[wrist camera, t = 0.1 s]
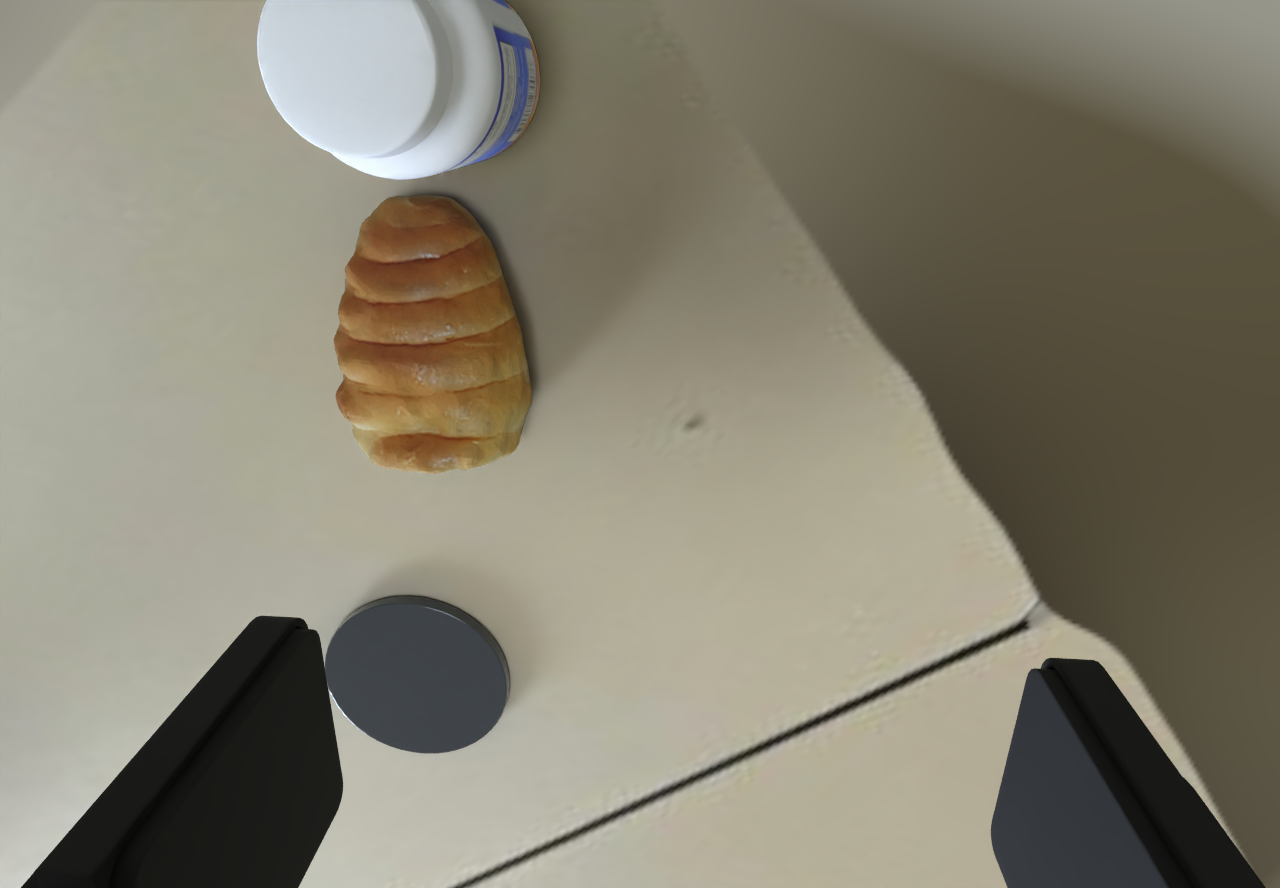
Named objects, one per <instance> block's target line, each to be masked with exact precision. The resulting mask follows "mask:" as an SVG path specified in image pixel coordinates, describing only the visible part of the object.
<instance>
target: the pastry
mask: <svg viewBox="0 0 1280 888" xmlns="http://www.w3.org/2000/svg"><path fill="white" fill-rule="evenodd" d="M345 273H346V280H345V292H344V294H343V295H342V298H341V301H340V305H339V311H338V314H339V319H340V325H339V327H338V330H337V332H336V335H335V337H334V345H335V351H336V354H337V357H338V364H339V367H340V369H341V371H342V372H343V378H344V380H343V382H342V383H341V385H340V387H339V388H338V390H337V392H336V400H337V403H338V407H339V409H340V411H341V413H342V414H343V416H344V417H345V418H346V419H347V420H348V421H350V422H351V423H352V425H353V435H354V437H355V439H356V440H357V442H358V443H359V444H360V446H361V448H362V450H363V451H364V452H365V453H366V454H367V455H368V456H369V458H370V460H371V461H372V462H374V463H375V464H377V465H379V466H381V467H384V468H388V469H396V470H400V471H408V472H419V473H429V474H435V473H442V472H445V471H449V470H454V469H458V470H467V469H471V468H475V467H479V466H483V465H486V464H489V463H492V462H494V461H496V460H498V459H500V458H502V457H505V456H507V455H509V454H511V453H512V452H513V451H514V450H515V449H516V447H517V446H518V444H519V441H520V436H521V432H522V428H523V424H524V420H525V417H526V415H527V412H528V410H529V408H530V404H531V401H532V389H531V384H530V379H529V371H528V363H527V359H526V356H525V351H524V345H523V338H522V333H521V329H520V325H519V322H518V319H517V316H516V313H515V310H514V307H513V304H512V301H511V297H510V295H509V292H508V289H507V286H506V283H505V281H504V277H503V274H502V271H501V268H500V264H499V261H498V258H497V255H496V253H495V250H494V248H493V246H492V243H491V241H490V240H489V238H488V237H487V235H486V234H485V233H484V231H483V230H482V229H481V227H480V226H479V224H478V223H477V221H476V220H475V218H474V217H473V216H472V215H471V213H470V212H468V211H467V210H466V209H465V208H464V207H463V206H462V205H460V204H459V203H457V202H456V201H454V200H453V199H451V198H449V197H444V196H435V195H420V196H409V197H402V196H396V197H391V198H388V199H386V200H385V201H384V202H382V203H381V204H380V205H379V207H378V208H377V209H376V210H374V211H373V213H372V214H371V216H369V217H368V218H367V219H365V221H364V222H363V223H362V225H361V228H360V233H359V238H358V241H357V244H356V250H355V253H354V255H353V257H352V258H351V259H350V261H349V262H348V264H347V266H346V268H345Z"/></svg>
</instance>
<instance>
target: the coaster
mask: <svg viewBox="0 0 1280 888" xmlns="http://www.w3.org/2000/svg"><path fill="white" fill-rule="evenodd" d="M325 673H326V679H327V684H328V687H329V690H330V692H331V695H332V697H333V699H334V701H335V702H336V704H337V706H338V707H339V708H340V710H341V711H342V713H343V714H344V715H345V716H346V717H347V718H348V719H349V720H350V721H351V722H352V723H353V724H354V725H355V726H356V727H357V728H359V729H360V730H361V731H363V732H364V733H366V734H367V735H368V736H370V737H372V738H374V739H376V740H377V741H379V742H382V743H384V744H386V745H388V746H391V747H394V748H397V749H401V750H405V751H410V752H416V753H444V752H450V751H455V750H458V749H461V748H464V747H467V746H469V745H471V744H473V743H475V742H476V741H478V740H479V739H481V738H482V737H484V736H485V735H486V734H487V733H488V732H489V731H491V730H492V728H493V727H494V726H495V725H496V723H497V722H498V720H499V719H500V717H501V715H502V713H503V710H504V707H505V705H506V701H507V698H508V693H509V682H510V679H509V671H508V667H507V663H506V660H505V657H504V655H503V653H502V651H501V649H500V647H499V646H498V644H497V642H496V641H495V639H494V638H493V637H492V636H491V635H490V633H489V632H488V631H487V630H486V629H485V628H484V627H483V626H482V625H481V624H480V623H478V622H477V621H476V620H475V619H473V618H472V617H471V616H469V615H468V614H466V613H464V612H463V611H461V610H459V609H457V608H455V607H453V606H451V605H448V604H446V603H443V602H440V601H437V600H433V599H428V598H424V597H414V596H397V597H389V598H384V599H380V600H377V601H374V602H372V603H369V604H366V605H365V606H363V607H361V608H359V609H358V610H356V611H355V612H353V613H352V614H351V615H350V616H348V617H347V619H346V620H345V621H344V622H343V623H342V624H341V625H340V627H339V628H338V630H337V631H336V633H335V634H334V636H333V637H332V639H331V641H330V644H329V646H328V649H327V653H326V659H325Z"/></svg>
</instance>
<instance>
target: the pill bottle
mask: <svg viewBox="0 0 1280 888" xmlns="http://www.w3.org/2000/svg"><path fill="white" fill-rule="evenodd" d="M257 53H258V61H259V68H260V71H261V74H262V79H263V81H264V83H265V87H266V90H267V92H268V94H269V96H270V98H271V100H272V102H273V103H274V105H275V107H276V108H277V110H278V111H279V113H280V114H281V115H282V117H283V118H284V119H285V121H286V122H287V123H288V124H289V125H290V126H291V127H292V128H293V129H294V130H295V131H296V132H297V133H299V134H300V135H301V136H302V137H303V138H305V139H306V140H308V141H309V142H311V143H312V144H314V145H316V146H317V147H319V148H322V149H324V150H326V151H328V152H331V153H332V154H333V155H334V156H335V157H337V158H338V159H339V160H341V161H343V162H344V163H346V164H348V165H349V166H351V167H353V168H355V169H358V170H360V171H362V172H365V173H367V174H370V175H374V176H378V177H383V178H388V179H402V180H403V179H415V178H421V177H427V176H431V175H435V174H439V173H443V172H446V171H450V170H453V169H457V168H460V167H463V166H467V165H470V164H473V163H477V162H480V161H484V160H487V159H489V158H492V157H494V156H496V155H498V154H500V153H501V152H503V151H504V150H506V149H507V148H508V147H510V146H511V145H512V144H513V143H514V142H515V141H516V140H517V139H518V138H519V137H520V136H521V135H522V134H523V132H524V131H525V129H526V128H527V126H528V125H529V123H530V121H531V119H532V117H533V114H534V112H535V109H536V105H537V102H538V97H539V89H540V72H539V63H538V58H537V54H536V51H535V47H534V44H533V41H532V39H531V36H530V34H529V32H528V30H527V28H526V27H525V25H524V23H523V21H522V20H521V18H520V17H519V15H518V14H517V13H516V12H515V11H514V9H513V8H512V7H511V6H510V5H509V4H508V3H507V2H506V1H505V0H266V3H265V5H264V7H263V10H262V14H261V17H260V20H259V26H258V34H257Z"/></svg>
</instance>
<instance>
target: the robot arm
mask: <svg viewBox="0 0 1280 888" xmlns="http://www.w3.org/2000/svg"><path fill="white" fill-rule="evenodd" d="M342 793H343V778H342V772H341V766H340V760H339V753H338V747H337V741H336V735H335V729H334V722H333V716H332V710H331V704H330V698H329V692H328V685H327V679H326V673H325V667H324V661H323V654H322V648H321V642H320V637H319V634H318V633H317V631H316V630H312V629H308V626H307V624H306V622H305V621H304V620H303V619H301V618H293V617H274V616H259V617H256V618H255V619H253V620H252V621H251V622H250V623H249V624H248V626H247V627H246V628H245V629H244V630H243V631H242V633H241V634H240V635H239V636H238V637H237V638H236V639H235V641H234V642H233V643H232V644H231V645H230V646H229V648H228V649H227V650H226V651H225V652H224V653H223V654H222V656H221V657H220V658H219V659H218V660H217V661H216V663H215V664H214V665H213V666H212V667H211V668H210V670H209V671H208V672H207V673H206V674H205V675H204V676H203V678H202V679H201V680H200V681H199V682H198V683H197V685H196V686H195V687H194V688H193V689H192V690H191V691H190V693H189V694H188V695H187V696H186V697H185V698H184V700H183V701H182V702H181V703H180V704H179V705H178V706H177V708H176V709H175V710H174V711H173V712H172V713H171V715H170V716H169V717H168V718H167V719H166V720H165V721H164V723H163V724H162V725H161V726H160V727H159V728H158V730H157V731H156V732H155V733H154V734H153V735H152V736H151V738H150V739H149V740H148V741H147V742H146V743H145V745H144V746H143V747H142V748H141V749H140V750H139V751H138V753H137V754H136V755H135V756H134V757H133V758H132V760H131V761H130V762H129V763H128V764H127V765H126V766H125V768H124V769H123V770H122V771H121V772H120V773H119V775H118V776H117V777H116V778H115V779H114V780H113V781H112V783H111V784H110V785H109V786H108V787H107V788H106V790H105V791H104V792H103V793H102V794H101V795H100V796H99V798H98V799H97V800H96V801H95V802H94V803H93V805H92V806H91V807H90V808H89V809H88V810H87V811H86V813H85V814H84V815H83V816H82V817H81V818H80V820H79V821H78V822H77V823H76V824H75V825H74V826H73V828H72V829H71V830H70V831H69V832H68V833H67V835H66V836H65V837H64V838H63V839H62V840H61V841H60V843H59V844H58V845H57V846H56V847H55V848H54V850H53V851H52V852H51V853H50V854H49V855H48V857H47V858H46V859H45V860H44V861H43V862H42V863H41V865H40V866H39V867H38V868H37V869H36V870H35V872H34V873H33V874H32V875H31V877H30V878H29V879H28V880H27V881H26V882H25V884H24V885H23V886H22V887H21V888H298V887H299V885H300V883H301V881H302V879H303V877H304V875H305V873H306V871H307V869H308V867H309V865H310V864H311V862H312V860H313V858H314V856H315V854H316V852H317V850H318V848H319V846H320V844H321V842H322V840H323V838H324V836H325V834H326V832H327V830H328V828H329V826H330V824H331V822H332V821H333V819H334V817H335V815H336V813H337V810H338V808H339V805H340V802H341V798H342ZM991 839H992V846H993V850H994V853H995V857H996V859H997V862H998V864H999V867H1000V869H1001V872H1002V874H1003V877H1004V879H1005V882H1006V885H1007V887H1008V888H1265V886H1264V885H1263V883H1262V882H1261V881H1260V879H1259V878H1258V876H1257V875H1256V874H1255V872H1254V871H1253V870H1252V868H1251V867H1250V865H1249V864H1248V863H1247V861H1246V860H1245V859H1244V857H1243V856H1242V854H1241V853H1240V852H1239V850H1238V849H1237V847H1236V846H1235V845H1234V843H1233V842H1232V841H1231V839H1230V838H1229V836H1228V835H1227V834H1226V832H1225V831H1224V829H1223V828H1222V827H1221V825H1220V824H1219V823H1218V821H1217V820H1216V818H1215V817H1214V816H1213V814H1212V813H1211V811H1210V810H1209V809H1208V807H1207V806H1206V805H1205V803H1204V802H1203V800H1202V799H1201V798H1200V796H1199V795H1198V794H1197V792H1196V791H1195V789H1194V788H1193V787H1192V786H1191V785H1190V784H1189V783H1188V782H1187V781H1186V779H1185V778H1183V777H1182V776H1181V774H1180V773H1179V772H1178V770H1177V769H1176V767H1175V766H1174V765H1173V763H1172V762H1171V760H1170V759H1169V758H1168V756H1167V755H1166V754H1165V752H1164V751H1163V749H1162V748H1161V747H1160V745H1159V744H1158V742H1157V741H1156V740H1155V738H1154V737H1153V735H1152V734H1151V733H1150V731H1149V730H1148V728H1147V727H1146V726H1145V724H1144V723H1143V721H1142V720H1141V719H1140V717H1139V716H1138V715H1137V713H1136V712H1135V710H1134V709H1133V708H1132V706H1131V705H1130V703H1129V702H1128V701H1127V699H1126V698H1125V696H1124V695H1123V694H1122V692H1121V691H1120V689H1119V688H1118V687H1117V685H1116V684H1115V683H1114V681H1113V680H1112V678H1111V677H1110V676H1109V674H1108V673H1107V671H1106V670H1105V669H1104V667H1103V666H1102V665H1101V664H1100V663H1099V662H1097V661H1094V660H1081V659H1062V658H1049V659H1046V660H1045V661H1044V663H1043V664H1042V667H1041V669H1031V671H1030V672H1029V673H1028V676H1027V679H1026V683H1025V687H1024V691H1023V696H1022V700H1021V704H1020V708H1019V712H1018V716H1017V720H1016V724H1015V728H1014V733H1013V737H1012V741H1011V745H1010V749H1009V753H1008V757H1007V761H1006V766H1005V770H1004V774H1003V778H1002V782H1001V786H1000V790H999V794H998V799H997V803H996V807H995V811H994V815H993V819H992V825H991Z"/></svg>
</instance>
